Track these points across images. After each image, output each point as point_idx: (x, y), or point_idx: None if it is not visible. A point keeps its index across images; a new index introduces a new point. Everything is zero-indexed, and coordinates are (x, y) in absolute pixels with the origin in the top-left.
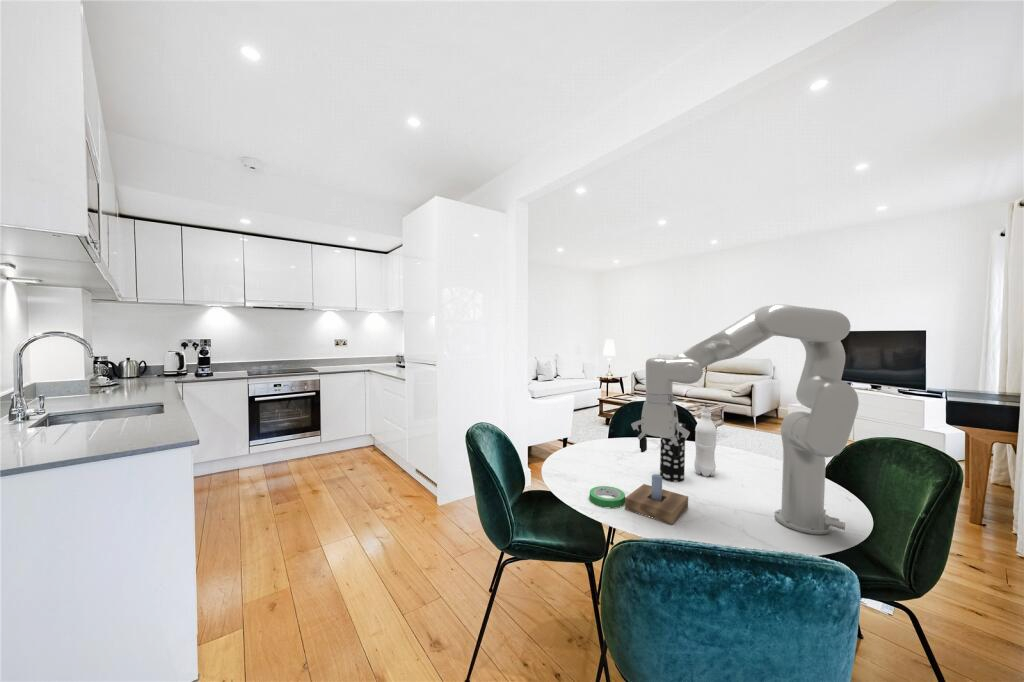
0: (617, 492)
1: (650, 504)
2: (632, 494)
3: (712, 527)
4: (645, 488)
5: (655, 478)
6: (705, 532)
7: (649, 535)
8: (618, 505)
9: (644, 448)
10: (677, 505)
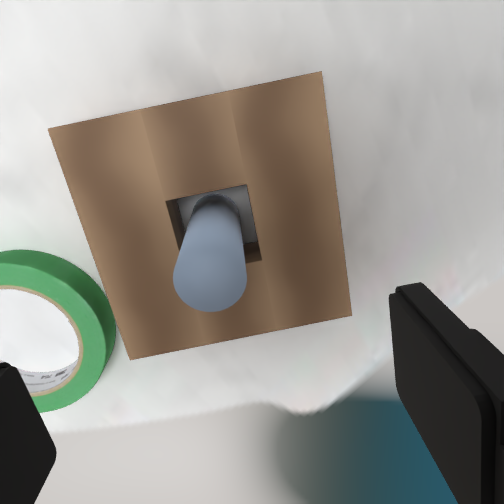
0: (28, 288)
1: (244, 323)
2: (122, 305)
3: (459, 174)
4: (103, 182)
5: (220, 308)
6: (450, 236)
7: (318, 405)
8: (112, 344)
9: (24, 453)
10: (333, 230)
